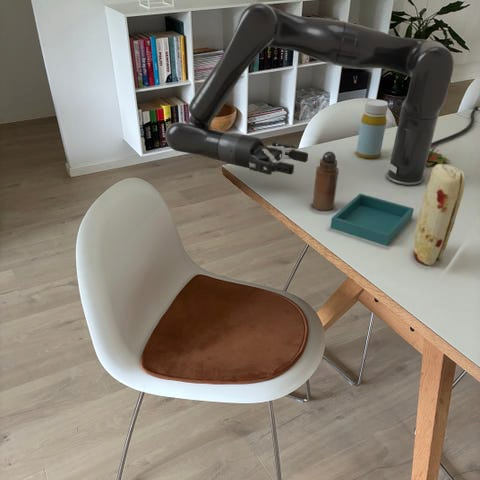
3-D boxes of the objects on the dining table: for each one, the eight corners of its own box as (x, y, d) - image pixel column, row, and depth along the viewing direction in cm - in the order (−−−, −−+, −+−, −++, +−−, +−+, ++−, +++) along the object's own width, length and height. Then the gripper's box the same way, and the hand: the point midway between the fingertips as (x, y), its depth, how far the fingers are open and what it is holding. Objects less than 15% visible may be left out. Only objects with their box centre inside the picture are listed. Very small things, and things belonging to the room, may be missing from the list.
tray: (357, 204, 130) (360, 193, 128) (411, 220, 124) (414, 208, 122) (329, 230, 119) (331, 217, 117) (386, 248, 114) (389, 235, 112)
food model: (404, 245, 114) (427, 157, 102) (435, 247, 114) (461, 158, 102) (412, 270, 107) (437, 177, 94) (445, 272, 106) (474, 179, 94)
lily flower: (458, 164, 151) (463, 148, 148) (427, 171, 147) (431, 155, 144) (428, 150, 159) (432, 135, 156) (398, 156, 155) (401, 141, 152)
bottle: (379, 160, 152) (390, 107, 143) (355, 158, 153) (364, 105, 144) (379, 151, 157) (389, 99, 148) (356, 149, 158) (364, 98, 149)
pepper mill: (317, 201, 131) (324, 145, 122) (338, 207, 128) (346, 150, 119) (307, 209, 127) (313, 152, 118) (327, 215, 125) (335, 158, 116)
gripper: (226, 144, 122) (289, 158, 117) (253, 126, 132) (313, 138, 126) (226, 174, 127) (287, 189, 121) (252, 155, 137) (310, 168, 131)
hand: (300, 163), depth 124 cm, fingers open, 8 cm apart
